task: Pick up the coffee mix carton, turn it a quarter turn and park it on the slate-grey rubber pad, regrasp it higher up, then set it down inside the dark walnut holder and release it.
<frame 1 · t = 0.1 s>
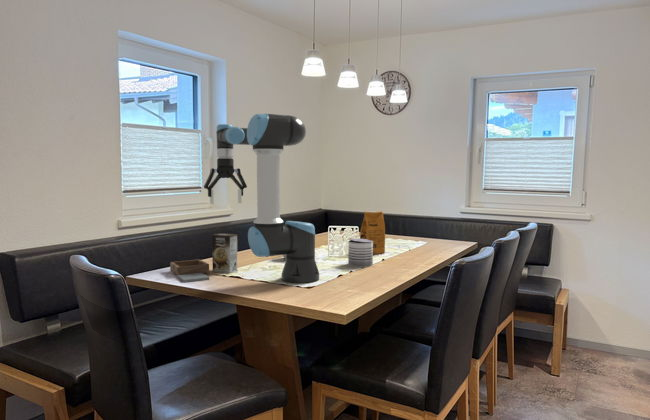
hand: (226, 203, 228), 28 cm above the table, fingers open, 13 cm apart
teacup: (292, 258, 240), on the table
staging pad: (193, 278, 196), on the table
coffee package: (372, 253, 256), on the table
holder: (189, 272, 207), on the table
coffee box: (225, 271, 210), on the table
can: (360, 265, 225), on the table
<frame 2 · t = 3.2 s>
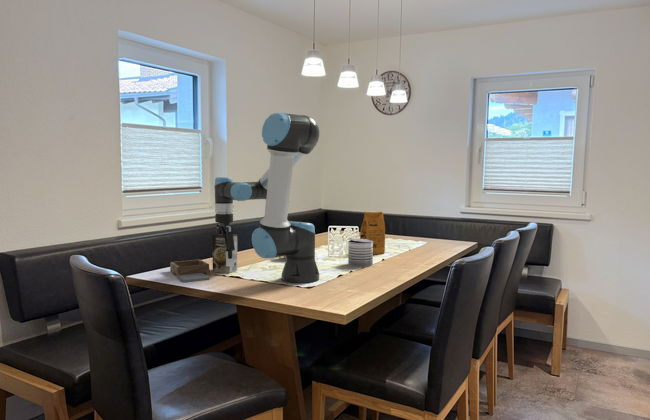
hand: (224, 263, 210), 3 cm above the table, fingers closed on coffee box, 11 cm apart
coffee box: (225, 271, 210), on the table, touching gripper
everything else where it was.
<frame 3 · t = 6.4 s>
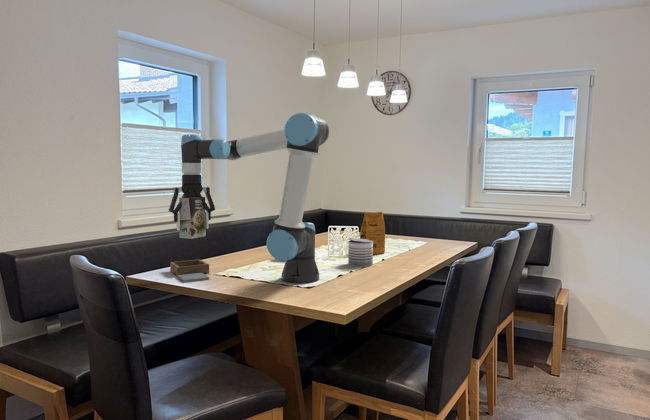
hand: (192, 229, 194), 20 cm above the table, fingers closed on coffee box, 11 cm apart
coffee box: (193, 237, 195), point 17 cm above the table, touching gripper
everything else where it was.
when the fingers open (6 cm above the table, at t = 9.7 s): coffee box drops 1 cm, resting on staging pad.
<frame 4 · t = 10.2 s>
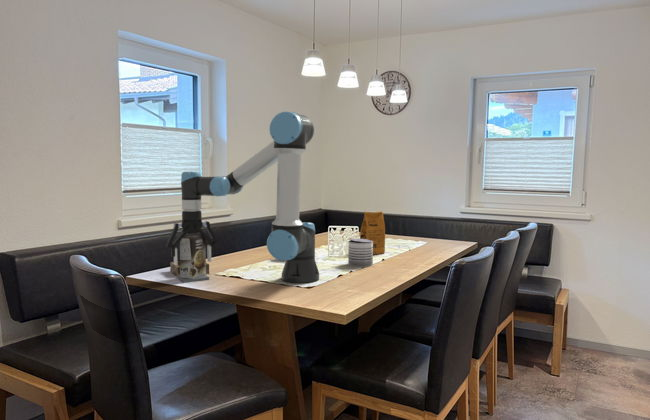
hand: (192, 262, 195), 6 cm above the table, fingers open, 13 cm apart
coffee box: (193, 276, 196), point 1 cm above the table, touching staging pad
everything else where it was.
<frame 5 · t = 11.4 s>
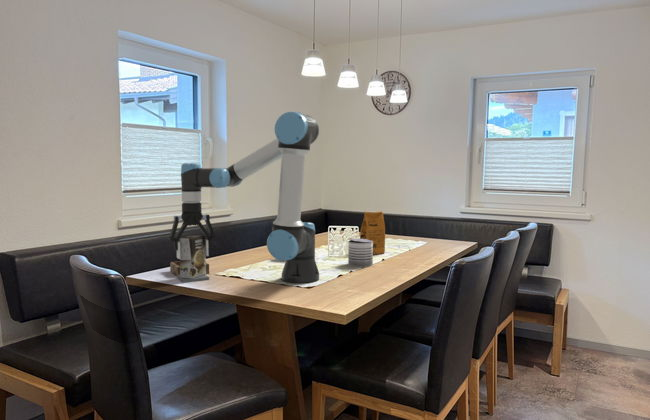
hand: (192, 256, 195), 9 cm above the table, fingers closed on coffee box, 11 cm apart
coffee box: (193, 276, 195), point 1 cm above the table, touching gripper, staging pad
everything else where it was.
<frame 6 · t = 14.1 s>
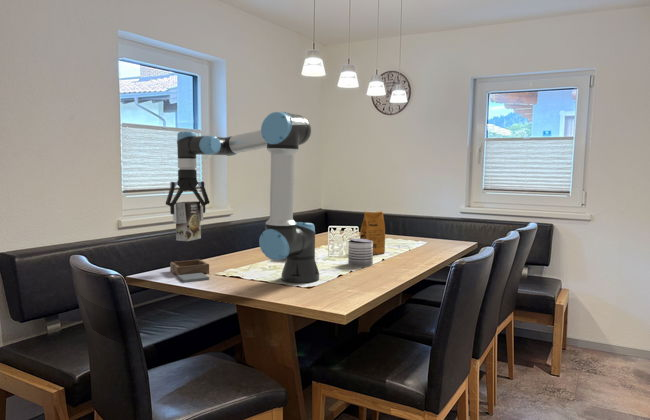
hand: (188, 221, 205), 22 cm above the table, fingers closed on coffee box, 11 cm apart
coffee box: (188, 240, 206), point 14 cm above the table, touching gripper
everything else where it was.
when the fingers open (10 cm above the table, at t = 16.9 s): coffee box drops 2 cm, resting on holder.
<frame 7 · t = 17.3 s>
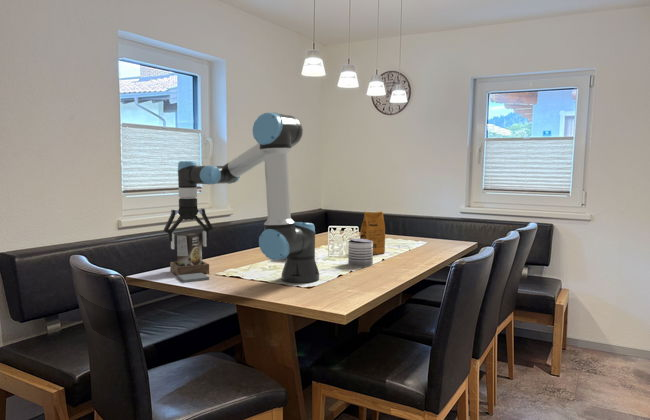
hand: (189, 247, 206), 11 cm above the table, fingers open, 13 cm apart
coffee box: (190, 271, 207), resting on holder
everything else where it was.
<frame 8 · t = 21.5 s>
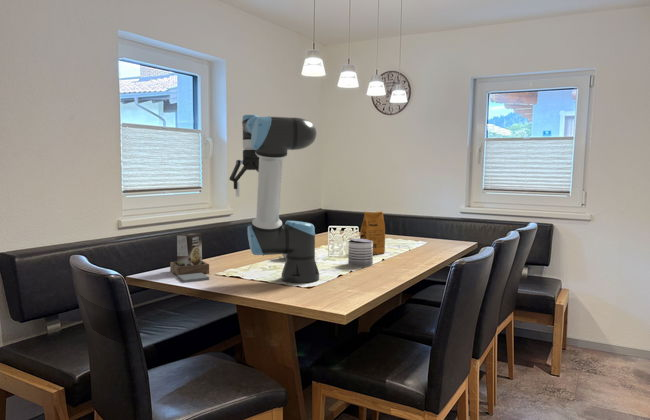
hand: (251, 196, 223), 32 cm above the table, fingers open, 13 cm apart
nothing on the table moved.
at the end: coffee box 0.2 cm off-centre on the holder, point 0.2 cm above the holder's base; coffee box tilted 0°; the gripper is holding nothing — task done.
